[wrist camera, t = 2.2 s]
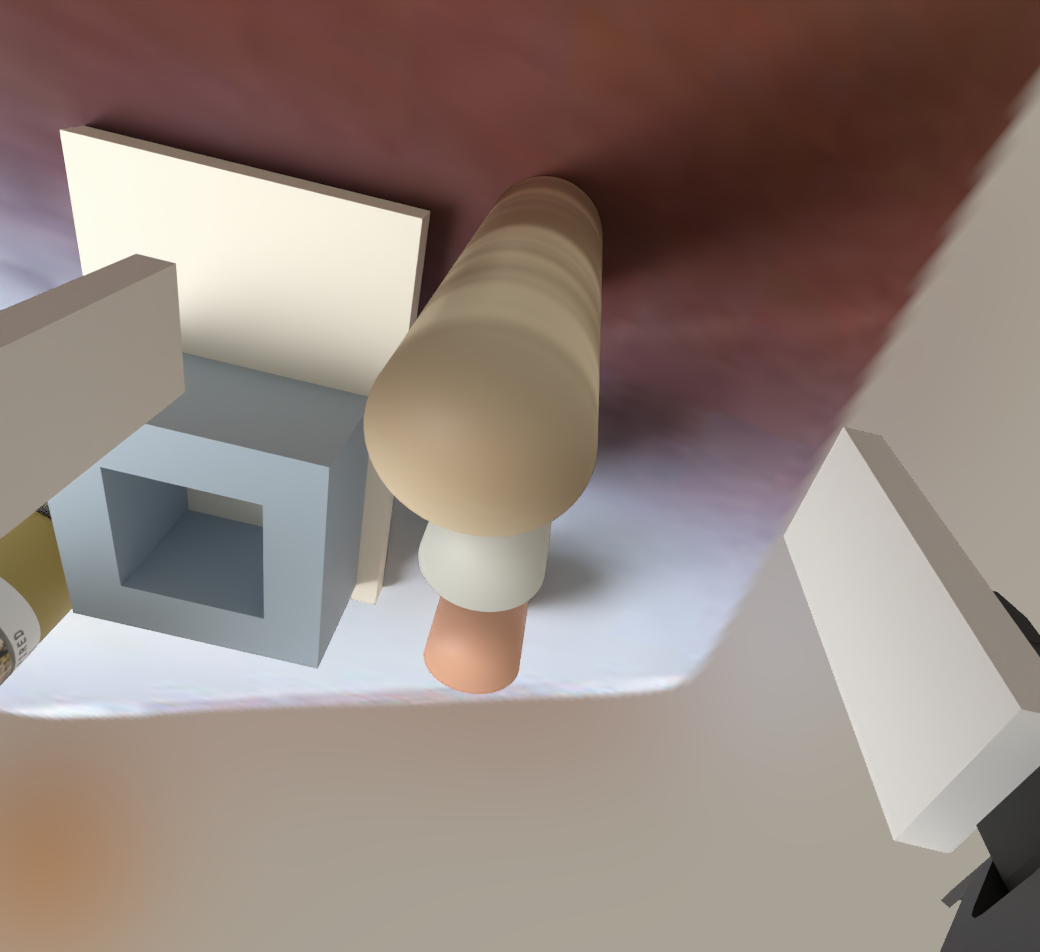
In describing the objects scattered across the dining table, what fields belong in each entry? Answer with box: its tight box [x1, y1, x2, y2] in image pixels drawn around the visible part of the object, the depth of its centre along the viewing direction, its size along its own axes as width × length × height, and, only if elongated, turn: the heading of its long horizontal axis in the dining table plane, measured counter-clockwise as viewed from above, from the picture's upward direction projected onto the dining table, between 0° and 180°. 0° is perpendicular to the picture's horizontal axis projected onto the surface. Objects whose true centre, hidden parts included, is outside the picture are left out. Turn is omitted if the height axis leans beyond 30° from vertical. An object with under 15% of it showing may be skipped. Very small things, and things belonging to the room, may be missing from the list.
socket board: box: [48, 126, 430, 669], centre depth 25 cm, size 18×12×6 cm, turn 168°
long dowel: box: [364, 176, 603, 537], centre depth 17 cm, size 4×4×14 cm
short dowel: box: [424, 596, 528, 694], centre depth 30 cm, size 4×4×5 cm
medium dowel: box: [418, 522, 551, 612], centre depth 24 cm, size 4×4×8 cm
